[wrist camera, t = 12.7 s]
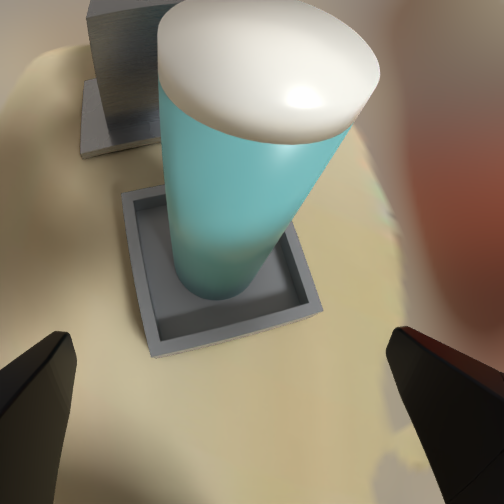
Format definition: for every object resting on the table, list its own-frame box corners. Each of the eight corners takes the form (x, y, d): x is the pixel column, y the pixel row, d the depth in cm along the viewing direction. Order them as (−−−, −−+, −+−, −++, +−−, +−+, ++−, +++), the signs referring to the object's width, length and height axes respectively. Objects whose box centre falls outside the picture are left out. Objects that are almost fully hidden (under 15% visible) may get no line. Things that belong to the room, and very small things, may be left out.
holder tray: (309, 317, 18) (323, 310, 16) (155, 358, 15) (150, 357, 14) (264, 185, 20) (271, 167, 18) (126, 210, 18) (121, 193, 16)
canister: (248, 308, 16) (391, 141, 4) (164, 289, 16) (114, 72, 4) (263, 232, 18) (369, 24, 6) (185, 213, 18) (199, -20, 6)
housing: (279, 127, 22) (321, 18, 14) (82, 159, 19) (43, 42, 10) (248, 64, 25) (272, -30, 16) (85, 86, 21) (67, -13, 12)
